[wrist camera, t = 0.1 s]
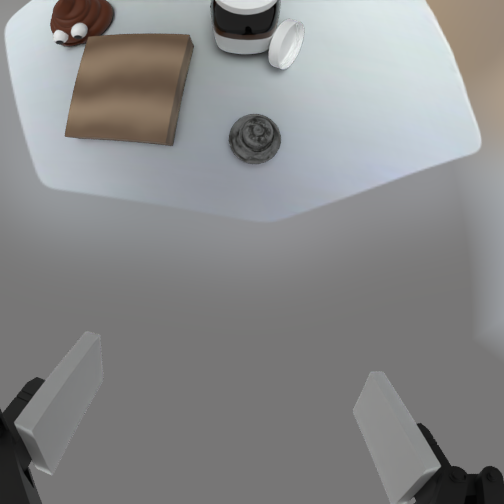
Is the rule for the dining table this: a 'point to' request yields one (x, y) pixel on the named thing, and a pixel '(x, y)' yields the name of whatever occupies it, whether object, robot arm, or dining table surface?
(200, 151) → the dining table surface
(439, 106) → the dining table surface
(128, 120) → the walnut base
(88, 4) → the poop emoji
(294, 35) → the spread jar
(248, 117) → the salt shaker
